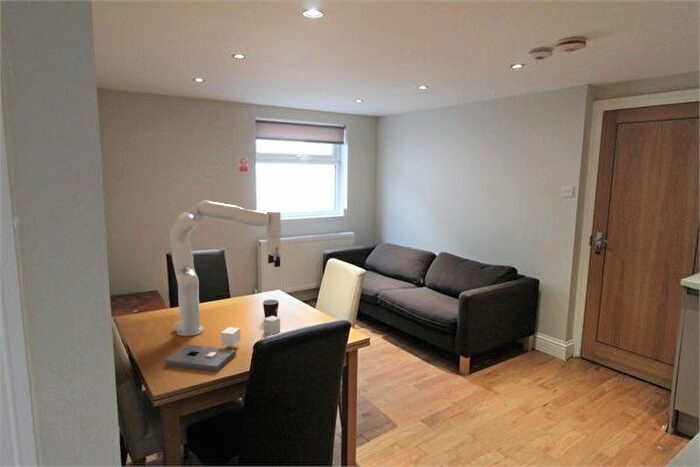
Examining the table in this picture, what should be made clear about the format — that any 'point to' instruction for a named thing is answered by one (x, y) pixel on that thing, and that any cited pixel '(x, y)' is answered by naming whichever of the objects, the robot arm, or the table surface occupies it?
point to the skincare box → (271, 325)
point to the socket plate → (200, 357)
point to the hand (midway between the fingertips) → (274, 264)
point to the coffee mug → (270, 307)
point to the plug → (230, 337)
